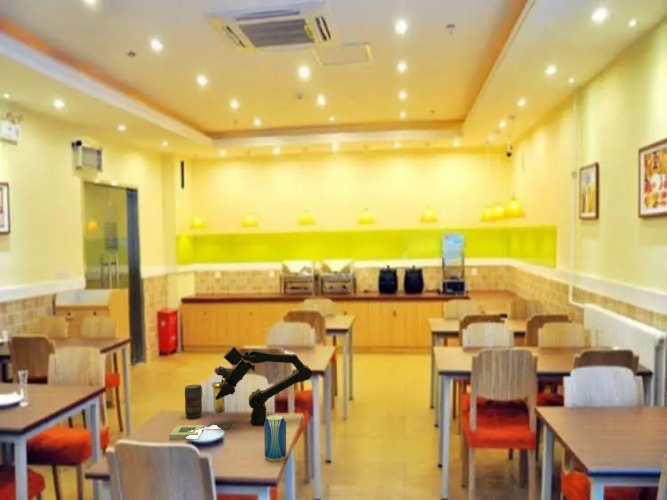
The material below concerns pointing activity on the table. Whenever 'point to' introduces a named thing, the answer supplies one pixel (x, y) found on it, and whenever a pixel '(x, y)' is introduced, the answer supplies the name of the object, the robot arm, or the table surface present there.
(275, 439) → the beer can
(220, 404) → the brass cover
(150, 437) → the table surface
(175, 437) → the housing
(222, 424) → the mat
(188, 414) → the camera lens
